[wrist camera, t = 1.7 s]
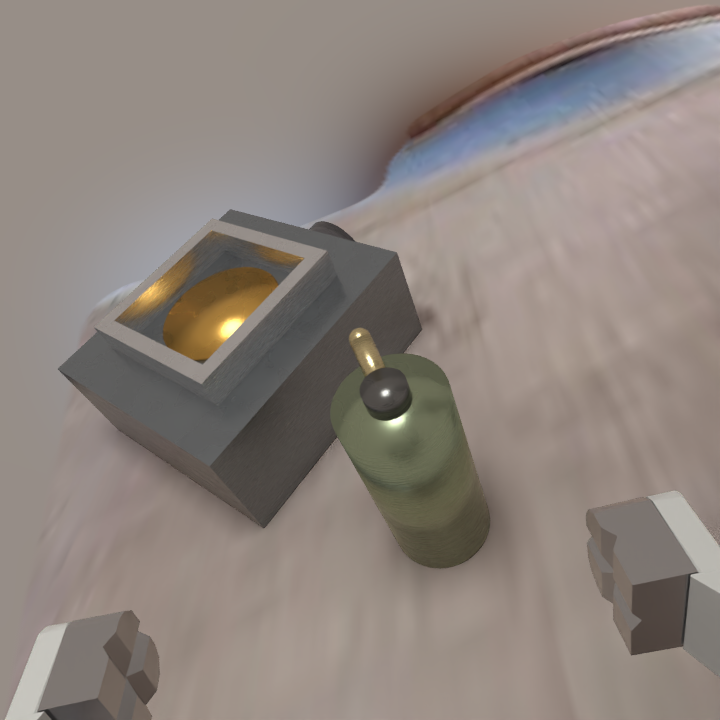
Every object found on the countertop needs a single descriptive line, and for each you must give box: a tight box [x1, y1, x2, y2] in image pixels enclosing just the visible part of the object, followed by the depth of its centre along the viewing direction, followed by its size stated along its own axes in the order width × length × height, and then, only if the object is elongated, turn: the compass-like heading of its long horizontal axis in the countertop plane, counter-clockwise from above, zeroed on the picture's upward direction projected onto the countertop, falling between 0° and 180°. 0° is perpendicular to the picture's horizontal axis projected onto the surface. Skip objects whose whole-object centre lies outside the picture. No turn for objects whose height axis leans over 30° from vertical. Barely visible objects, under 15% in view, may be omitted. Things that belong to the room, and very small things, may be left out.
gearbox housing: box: [58, 210, 422, 528], centre depth 43 cm, size 19×16×9 cm
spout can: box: [330, 328, 490, 568], centre depth 30 cm, size 6×5×13 cm
